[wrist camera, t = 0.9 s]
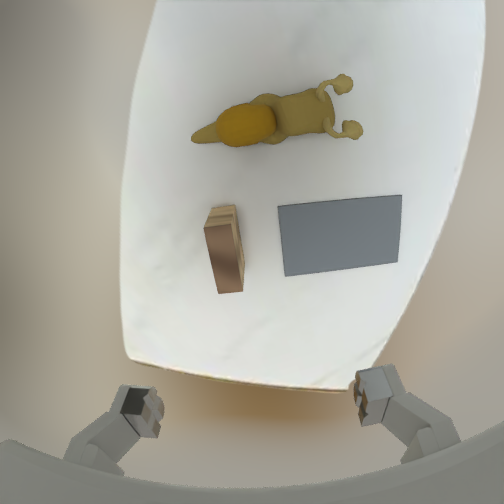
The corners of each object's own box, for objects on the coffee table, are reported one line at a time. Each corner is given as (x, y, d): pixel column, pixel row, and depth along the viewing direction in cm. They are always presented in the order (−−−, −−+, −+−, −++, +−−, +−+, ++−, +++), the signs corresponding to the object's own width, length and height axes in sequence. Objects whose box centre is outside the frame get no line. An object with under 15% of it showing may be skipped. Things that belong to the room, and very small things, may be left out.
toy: (343, 132, 39) (367, 139, 30) (200, 164, 41) (184, 180, 32) (331, 79, 35) (352, 71, 26) (185, 113, 38) (164, 114, 29)
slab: (212, 208, 44) (203, 228, 37) (235, 204, 44) (230, 224, 37) (223, 265, 49) (218, 293, 42) (244, 263, 49) (242, 291, 41)
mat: (277, 206, 44) (277, 207, 44) (400, 195, 43) (402, 195, 42) (284, 275, 49) (285, 276, 49) (396, 261, 48) (397, 262, 48)
